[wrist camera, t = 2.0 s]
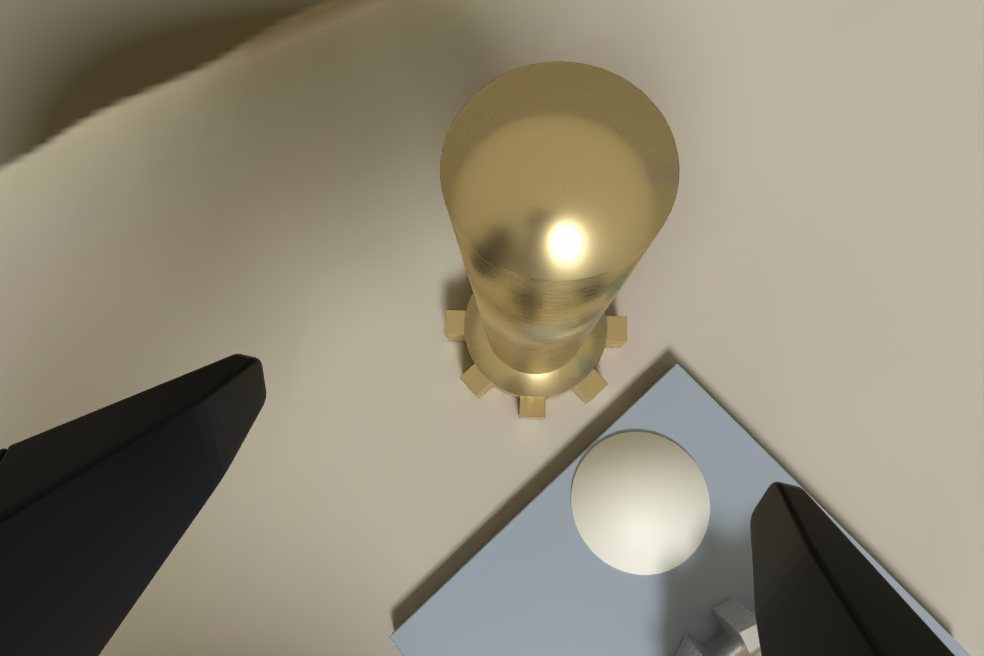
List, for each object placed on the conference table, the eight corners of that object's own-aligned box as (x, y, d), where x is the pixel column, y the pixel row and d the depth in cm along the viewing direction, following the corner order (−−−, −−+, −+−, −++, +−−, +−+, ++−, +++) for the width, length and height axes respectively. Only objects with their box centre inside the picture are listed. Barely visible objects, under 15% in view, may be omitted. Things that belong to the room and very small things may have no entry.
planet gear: (530, 455, 20) (550, 485, 7) (415, 328, 21) (258, 159, 8) (655, 337, 20) (878, 172, 8) (537, 220, 22) (564, -88, 9)
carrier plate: (661, 977, 16) (667, 1001, 16) (393, 631, 19) (388, 638, 18) (956, 649, 18) (974, 657, 17) (672, 365, 20) (678, 362, 20)
